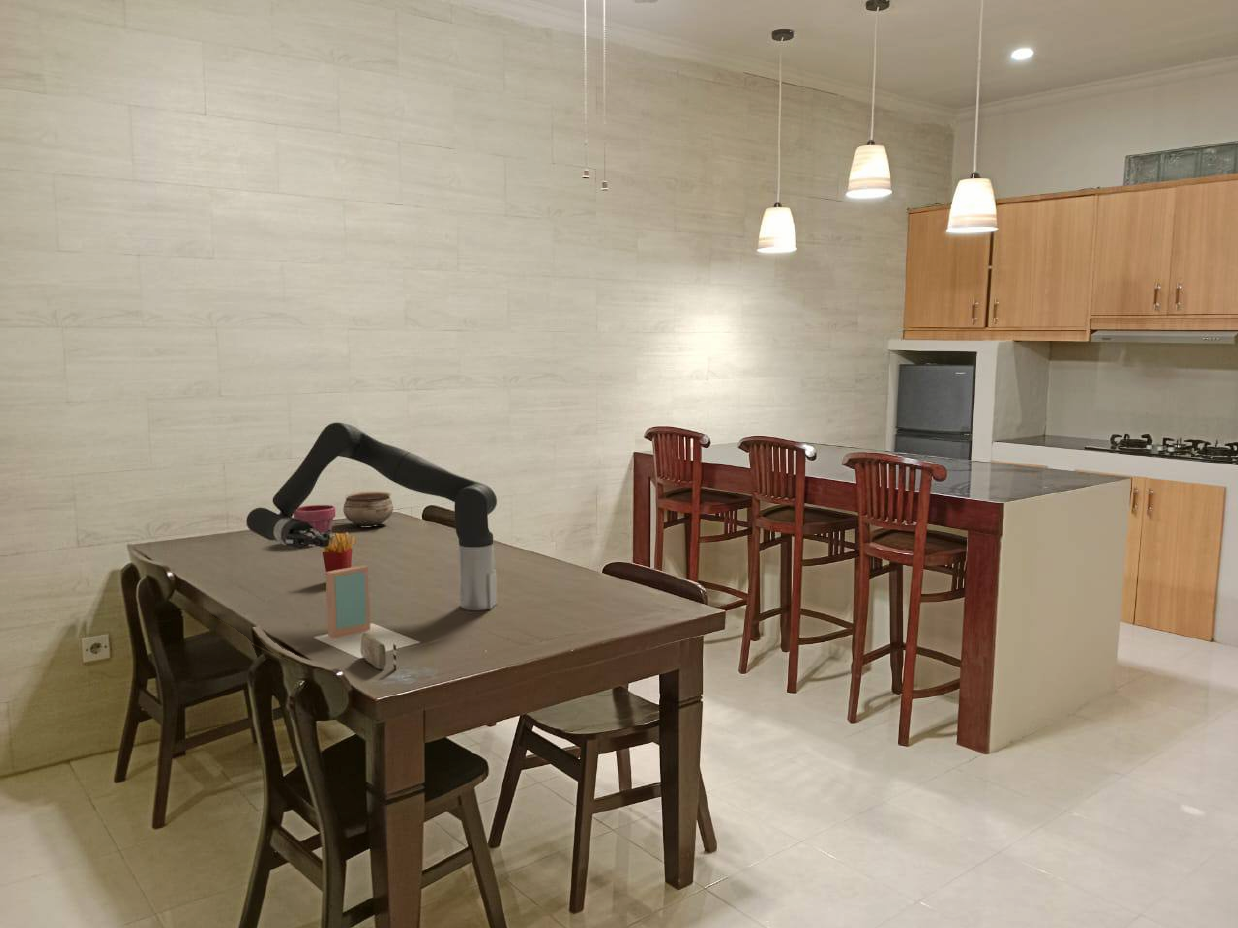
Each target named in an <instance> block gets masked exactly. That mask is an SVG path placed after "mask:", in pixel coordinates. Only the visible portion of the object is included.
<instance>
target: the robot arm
mask: <svg viewBox="0 0 1238 928" xmlns="http://www.w3.org/2000/svg"><path fill="white" fill-rule="evenodd" d="M338 457H339V458H340V457H341V458H347V459H350V460H352V461H357V462H359V463H361V464H365V465H367V466H369V467H371V468H373V469H374V470H375V471H376V472H378V473H379V474H381V475H382V476H383V477H385V478H386V479H388V480H390V481H391V482H393V483H395V484H397V485H399V486H401V487H404V488H406V489H408V490H411V491H414V492H416V493H420V494H425V495H432V496H436V497H440V498H444V499H447V500H449V501H451V502H453V503H454V510H453V511H454V523H455V533H456V536H457V538H458V554H459V555H458V556H459V557H458V559H459V560H458V561H459V588H460V591H459V593H460V595H459V596H460V608H462V609H463V610H468V611H483V610H484V611H485V610H492V609H493V608H494V607H495V606H496V605H497V604H498V587H497V586H498V585H497V584H498V583H497V574H498V573H497V569H495V558H494V557H495V556H494V552H495V551H494V535H493V532H491V531H490V528H489V519H488V518H489V517H488V516H489V515H490V514H491V513H493V512H494V510H495V509H496V507H497V503H498V499H497V495H496V493H495V491H494V490H493V489H492V488H491V487H490V486H488V484H484V483H481V482H479V481H475V480H472V479H470V478H467V477H464V476H461V475H458V474H456V473H453V472H451V471H449V470H447V469H445V468H443V467H442V466H439V465H437V464H435V463H433V462H430V461H429V460H427V459H425V458H423V457H421V456H419V455H416V454H414V453H412V452H409V451H407V450H405V449H402V448H399V447H396V446H395V445H394V446H393V445H389V444H387V443H384V442H381V441H379V440H377V439H375V438H374V437H372V436H371V435H369V434H366V433H365V432H363V431H362V430H360V429H359V428H357V427H356V426H354V425H352V424H348V423H343V422H332V423H329V424H328V425H327V426H325V427H324V428H323V430H322V431H321V433H320V434H319V435H318V437H317V438H316V441H315V442H314V444H313V445H312V448H311V449H310V450H309V452H308V453H307V455H306V457H305V458H304V459H303V461H302V462H301V463H300V465H299V466H298V467H297V469H295V471H294V472H293V474H292V475H291V476H290V477H289V478H288V479H287V480H286V482H285V483H284V484H283V485H282V486H281V487H280V488H279V490H277V492H276V493H275V494H274V495H273V497H272V504H273V505H274V507H275V508H276V509H277V510H279V511H280V512H279V513H276V512H274V511H272V510H270V509H267V508H265V507H257V508H254V509H252V510H251V511H250V512H249V513H248V515H247V516H246V521H245V522H246V526H247V528H248V529H249V530H250V531H251V532H253V533H255V534H257V535H258V536H259V537H263V538H264V539H266V540H268V541H275V542H277V543H280V544H281V545H283V546H286V547H288V548H289V547H290V548H292V549H295V550H298V551H299V550H304V549H307V548H309V547H319V548H324V547H328V545H329V542H330V540H331V539H332V538H331V537H332V529H331V530H326V531H324V533H321V531H318V530H315V529H314V528H313V526H312V525H311V524H310V523H308V522H306V521H302V520H299V519H296V518H294V513H295V511H296V510H297V509H298V507H301V505H302V504H303V503H304V502H305V501H306V500H307V499H308V497H309V496H310V495H311V494H312V492H313V490H314V489H315V487H316V484H317V482H318V480H319V478H320V476H321V474H322V473H323V471H324V470H326V468H327V467H328V466H329V464H331V463H332V462H333V461H334V460H335V459H337V458H338Z"/></svg>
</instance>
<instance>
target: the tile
mask: <svg viewBox="0 0 1238 928" xmlns="http://www.w3.org/2000/svg"><path fill="white" fill-rule="evenodd" d="M368 567H369V566H367V565H364V564H361V565H356V566H351V567H350V568H345V569H340V570H334V571H329V572H326V571H325V591H326V612H327V614H326V615H327V634H328V636H329V637H331V638H337V637H341V636H345V635H349V634H353V633H357V632H362V631H366V630H370V624H371V616H370V615H371V614H370V613H371V611H370V588H369V587H370V586H369V568H368Z"/></svg>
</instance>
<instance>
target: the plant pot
mask: <svg viewBox="0 0 1238 928" xmlns="http://www.w3.org/2000/svg"><path fill="white" fill-rule="evenodd" d="M335 517H336V506H334V505H332V504H331V505H330V504H329V505H328V504H315V505H313V504H312V505H304V506H299V507H298V509H297V510H296V511H295V513H294V514H293V518H296V519H299V520H302V521H306V522H308V523H310V524H311V525H312V526H313V528H314V529H315V530H318V531H321V533H324V531H326V530H331V531H332V528H333V520H334V519H335Z"/></svg>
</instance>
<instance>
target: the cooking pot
mask: <svg viewBox="0 0 1238 928" xmlns="http://www.w3.org/2000/svg"><path fill="white" fill-rule="evenodd" d="M391 495H392V494H391V493H390V492H387V491H360V492H359V491H358V492H352V493H349V494H345V495H344V498H345V501H344V505H343V511H342V512H343V514H344V516H345V518H346V519H347V521H349V522H351V523H353V524H355V525H357V526H359V527H360V526H374V525H378V526H379V525H381V524H382V523H384V522H385V521H387V520H388V519H389V518H390V517H391V516H392V514H393V511H394V504H393V502H392V499H391Z"/></svg>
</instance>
